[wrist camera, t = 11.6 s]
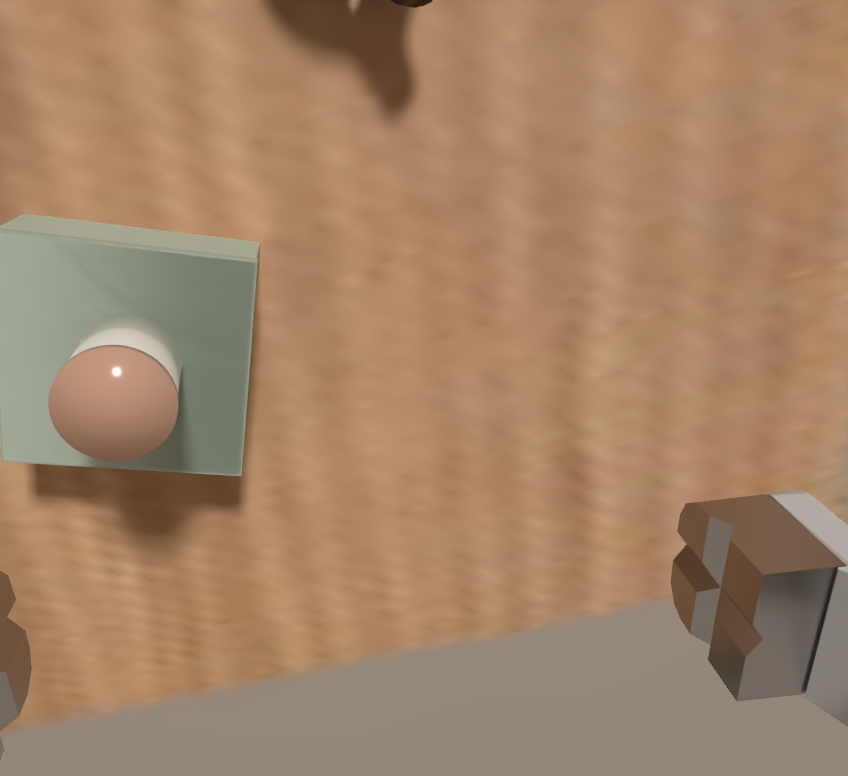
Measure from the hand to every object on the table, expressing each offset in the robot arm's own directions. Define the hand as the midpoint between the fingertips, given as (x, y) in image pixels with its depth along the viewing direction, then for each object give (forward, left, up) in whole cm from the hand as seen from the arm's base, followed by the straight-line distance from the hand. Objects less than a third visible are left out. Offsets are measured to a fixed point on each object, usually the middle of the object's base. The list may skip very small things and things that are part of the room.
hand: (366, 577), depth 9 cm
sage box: (+8, -10, -34) cm, 37 cm away
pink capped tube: (+8, -10, -29) cm, 32 cm away
